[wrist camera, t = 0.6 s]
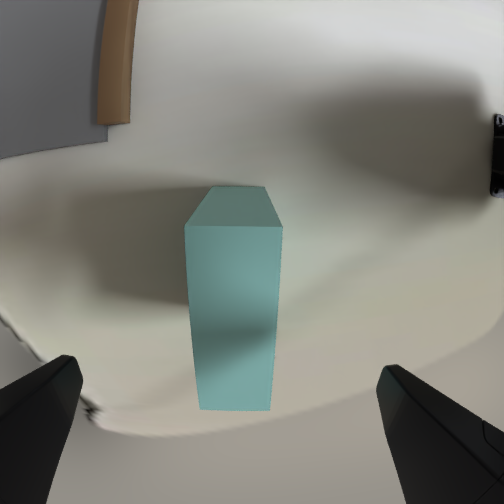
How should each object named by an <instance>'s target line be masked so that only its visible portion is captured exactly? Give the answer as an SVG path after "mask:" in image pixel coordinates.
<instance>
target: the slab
mask: <svg viewBox="0 0 504 504" xmlns="http://www.w3.org/2000/svg"><path fill="white" fill-rule="evenodd" d="M282 231H283V227H282V224H281V222H280V220H279V218H278V215H277V213H276V211H275V209H274V207H273V205H272V202H271V200H270V198H269V196H268V194H267V192H266V189H265V187H243V186H212V188H211V189H210V190H209V192H208V193H207V195H206V196H205V197H204V199H203V200H202V201H201V203H200V204H199V206H198V207H197V208H196V210H195V211H194V213H193V214H192V216H191V217H190V218H189V220H188V221H187V223H186V224H185V226H184V234H185V255H186V272H187V287H188V301H189V314H190V325H191V336H192V346H193V356H194V366H195V374H196V383H197V391H198V399H199V407H200V409H201V410H226V411H270V404H271V392H272V381H273V369H274V356H275V343H276V330H277V315H278V300H279V285H280V268H281V250H282Z"/></svg>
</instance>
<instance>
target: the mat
mask: <svg viewBox="0 0 504 504" xmlns="http://www.w3.org/2000/svg"><path fill="white" fill-rule="evenodd" d="M107 3H108V0H0V159H3V158H7V157H12V156H16V155H21V154H26V153H32V152H37V151H43V150H48V149H54V148H61V147H67V146H74V145H81V144H89V143H97V142H106V141H108V125H97V104H98V82H99V68H100V56H101V46H102V37H103V29H104V22H105V15H106V9H107Z"/></svg>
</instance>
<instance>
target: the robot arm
mask: <svg viewBox="0 0 504 504" xmlns="http://www.w3.org/2000/svg"><path fill="white" fill-rule="evenodd" d="M499 119H500V123H499ZM495 188H496V191H495V192H494V189H495ZM490 194H491V195H492V196H494V197H498V198H504V116H503V115H501V114H496V115H495V117H494V146H493V162H492V174H491V184H490ZM82 385H83V376H82V374H81V371H80V368H79V365H78V362H77V360H76V358H75V357H73V356H69V355H61V356H59V357H58V358H56V359H54V360H52V361H50V362H49V363H47V364H45V365H43V366H41V367H40V368H38V369H36V370H34V371H32V372H31V373H29V374H27V375H25V376H23V377H22V378H20V379H18V380H16V381H14V382H12V383H11V384H9V385H7V386H5V387H4V388H2V389H0V504H46V502H47V498H48V495H49V491H50V488H51V485H52V481H53V478H54V475H55V472H56V469H57V466H58V463H59V460H60V457H61V454H62V451H63V448H64V445H65V442H66V440H67V437H68V434H69V431H70V428H71V425H72V422H73V419H74V415H75V411H76V407H77V403H78V400H79V396H80V392H81V389H82ZM376 392H377V398H378V402H379V407H380V411H381V416H382V421H383V426H384V430H385V435H386V438H387V442H388V445H389V448H390V451H391V454H392V457H393V461H394V464H395V467H396V470H397V474H398V477H399V480H400V484H401V487H402V490H403V494H404V497H405V501H406V504H504V432H503V431H501V430H499V429H498V428H496V427H494V426H493V425H491V424H489V423H488V422H486V421H485V420H483V421H482V419H481V418H480V417H478V416H477V415H475V414H474V413H472V412H470V411H469V410H467V409H466V408H464V407H463V406H461V405H459V404H458V403H456V402H455V401H453V400H452V399H450V398H449V397H447V396H446V395H444V394H442V393H441V392H439V391H438V390H436V389H435V388H433V387H432V386H430V385H429V384H427V383H425V382H424V381H422V380H421V379H419V378H418V377H416V376H415V375H413V374H412V373H410V372H409V371H407V370H405V369H404V368H402V367H401V366H399V365H397V364H394V365H386V366H385V367H384V368H383V370H382V372H381V375H380V378H379V381H378V384H377V388H376Z"/></svg>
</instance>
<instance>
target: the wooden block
mask: <svg viewBox="0 0 504 504" xmlns="http://www.w3.org/2000/svg"><path fill="white" fill-rule="evenodd" d="M138 2H139V0H108V3H107V9H106V15H105V22H104V29H103V37H102V46H101V56H100V68H99V82H98V104H97V125H115V124H124V123H130V95H131V74H132V59H133V47H134V36H135V26H136V18H137V10H138Z"/></svg>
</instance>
